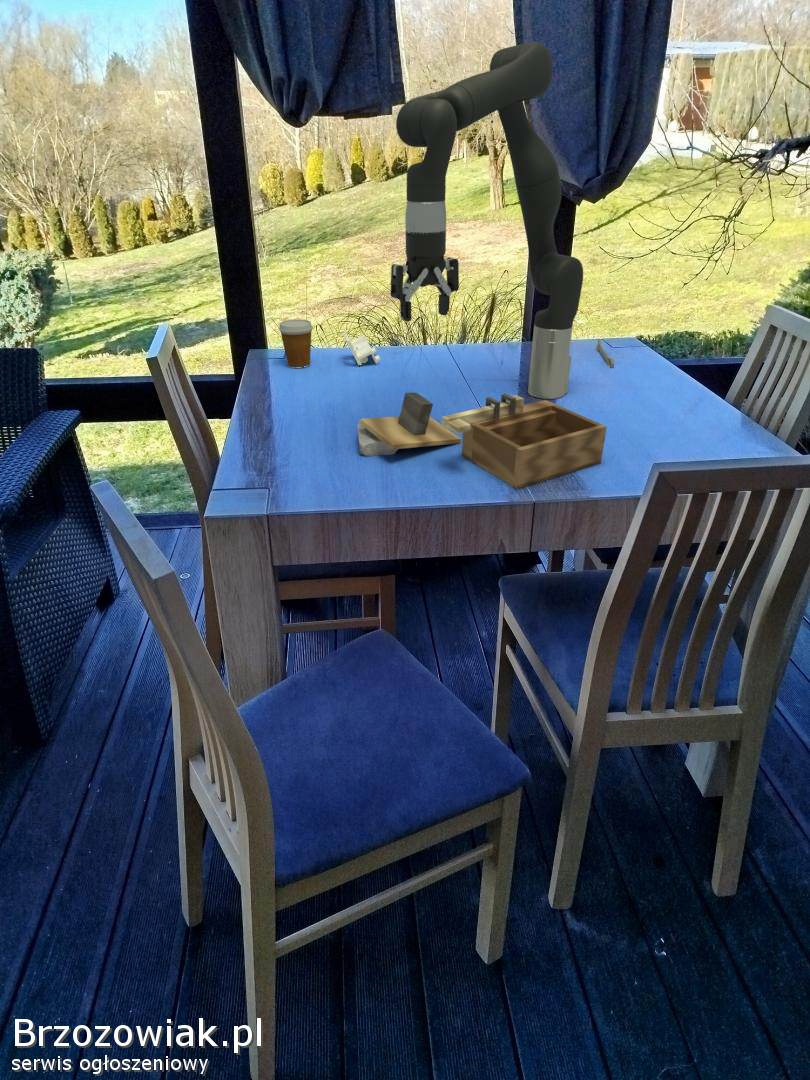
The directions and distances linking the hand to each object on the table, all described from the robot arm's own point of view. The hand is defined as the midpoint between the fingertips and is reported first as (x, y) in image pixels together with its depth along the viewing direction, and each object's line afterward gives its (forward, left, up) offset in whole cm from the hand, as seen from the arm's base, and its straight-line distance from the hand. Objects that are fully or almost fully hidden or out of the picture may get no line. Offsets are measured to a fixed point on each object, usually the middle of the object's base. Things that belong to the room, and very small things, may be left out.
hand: (425, 317), depth 134 cm
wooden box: (-14, +19, -27) cm, 36 cm away
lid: (+3, -1, -24) cm, 24 cm away
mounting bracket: (-18, -60, -27) cm, 68 cm away
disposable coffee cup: (0, -66, -27) cm, 71 cm away
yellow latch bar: (-7, +13, -19) cm, 24 cm away
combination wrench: (-80, -25, -27) cm, 88 cm away
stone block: (+8, -4, -27) cm, 29 cm away
